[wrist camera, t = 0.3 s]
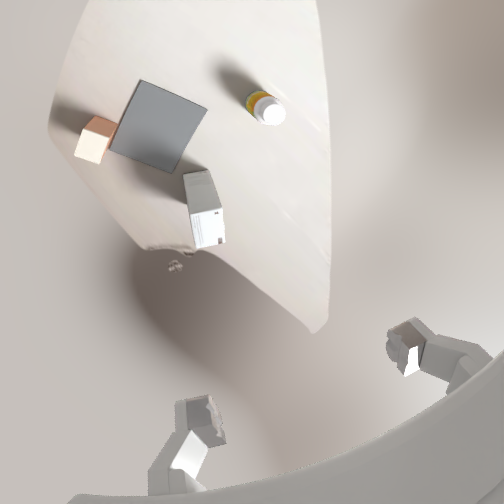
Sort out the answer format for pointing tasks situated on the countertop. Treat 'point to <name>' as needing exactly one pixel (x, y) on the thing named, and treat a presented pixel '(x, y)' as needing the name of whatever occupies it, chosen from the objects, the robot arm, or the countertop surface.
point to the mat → (157, 127)
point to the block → (95, 139)
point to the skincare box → (204, 209)
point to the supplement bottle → (265, 108)
